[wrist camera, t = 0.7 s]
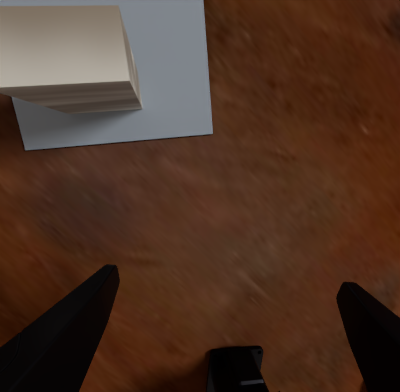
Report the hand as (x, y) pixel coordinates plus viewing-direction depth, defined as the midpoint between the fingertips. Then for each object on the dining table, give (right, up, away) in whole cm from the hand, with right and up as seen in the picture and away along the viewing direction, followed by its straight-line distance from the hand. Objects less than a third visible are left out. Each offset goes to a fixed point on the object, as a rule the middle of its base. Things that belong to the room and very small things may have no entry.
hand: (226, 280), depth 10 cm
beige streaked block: (-9, +12, +10) cm, 18 cm away
